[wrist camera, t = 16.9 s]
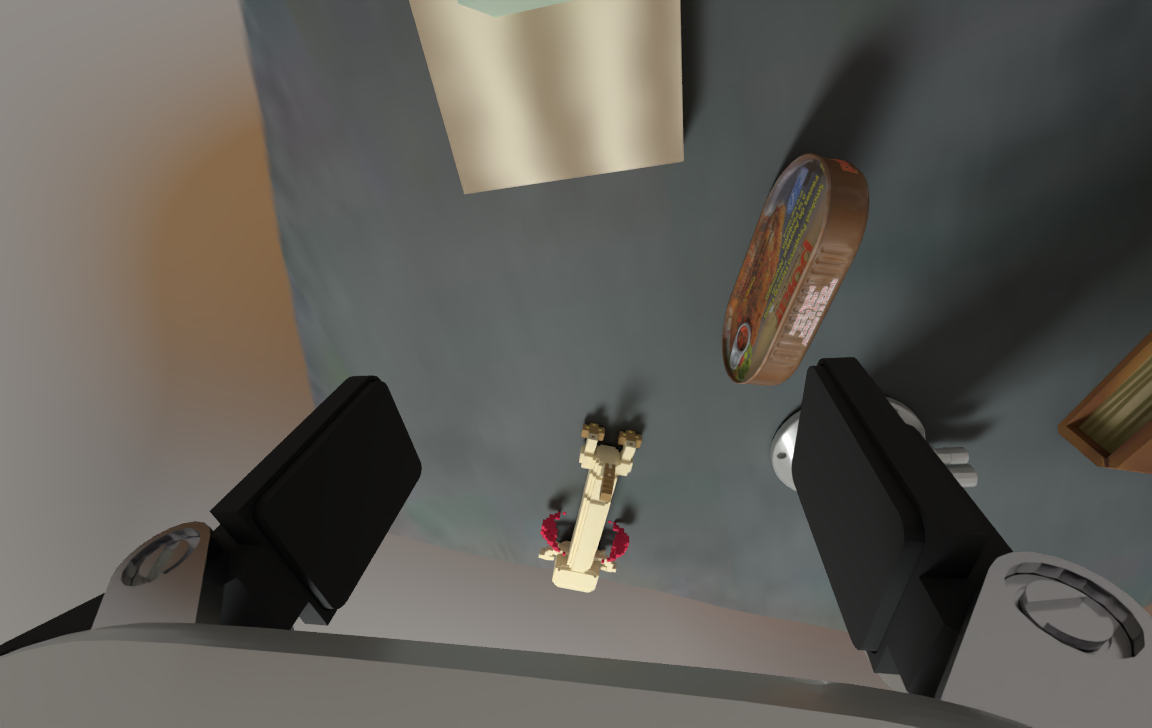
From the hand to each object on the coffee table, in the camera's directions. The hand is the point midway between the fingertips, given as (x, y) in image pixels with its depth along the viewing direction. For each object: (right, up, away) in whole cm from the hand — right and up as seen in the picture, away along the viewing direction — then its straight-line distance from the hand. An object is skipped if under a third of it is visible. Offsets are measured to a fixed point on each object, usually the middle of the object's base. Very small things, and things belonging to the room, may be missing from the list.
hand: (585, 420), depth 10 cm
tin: (+14, +9, +22) cm, 28 cm away
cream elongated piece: (+1, -15, +40) cm, 43 cm away
